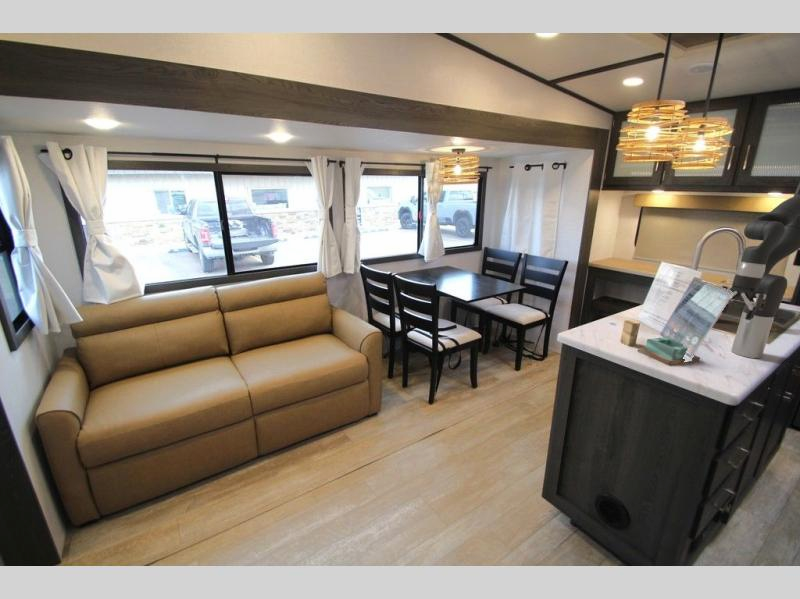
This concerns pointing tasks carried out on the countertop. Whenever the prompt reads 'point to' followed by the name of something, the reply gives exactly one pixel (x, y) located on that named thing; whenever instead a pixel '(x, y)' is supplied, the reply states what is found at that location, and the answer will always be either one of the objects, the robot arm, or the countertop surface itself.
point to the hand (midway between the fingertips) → (735, 316)
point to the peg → (630, 332)
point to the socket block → (666, 350)
